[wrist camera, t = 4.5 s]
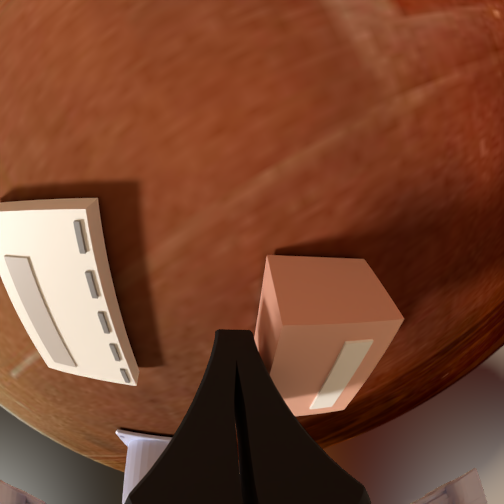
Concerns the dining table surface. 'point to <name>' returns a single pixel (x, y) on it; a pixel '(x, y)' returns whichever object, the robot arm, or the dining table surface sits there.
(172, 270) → the dining table surface
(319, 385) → the pink rectangular block
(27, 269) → the white slotted panel
